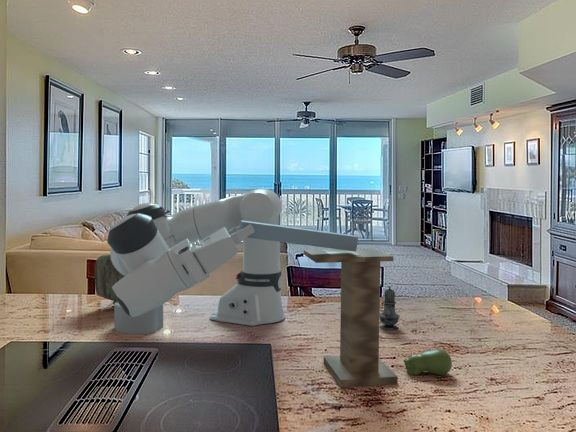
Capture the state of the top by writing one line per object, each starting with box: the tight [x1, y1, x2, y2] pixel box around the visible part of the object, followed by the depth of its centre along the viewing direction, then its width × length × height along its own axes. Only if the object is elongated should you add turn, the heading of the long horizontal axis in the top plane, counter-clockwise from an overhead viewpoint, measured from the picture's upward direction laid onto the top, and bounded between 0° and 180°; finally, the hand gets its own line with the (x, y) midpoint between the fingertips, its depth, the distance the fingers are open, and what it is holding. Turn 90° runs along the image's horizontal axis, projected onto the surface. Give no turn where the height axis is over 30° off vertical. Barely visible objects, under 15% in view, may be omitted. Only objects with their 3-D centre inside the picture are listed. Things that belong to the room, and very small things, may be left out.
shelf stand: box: [303, 248, 399, 388], centre depth 107 cm, size 17×14×26 cm
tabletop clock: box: [94, 254, 124, 312], centre depth 161 cm, size 14×9×25 cm, turn 58°
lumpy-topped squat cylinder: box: [113, 302, 164, 335], centre depth 140 cm, size 10×13×9 cm
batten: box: [240, 220, 359, 252], centre depth 103 cm, size 24×4×3 cm, turn 100°
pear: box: [403, 348, 453, 376], centre depth 108 cm, size 6×5×10 cm
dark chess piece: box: [379, 286, 401, 332], centre depth 142 cm, size 6×6×12 cm
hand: (251, 226), depth 101 cm, fingers closed on batten, 4 cm apart
